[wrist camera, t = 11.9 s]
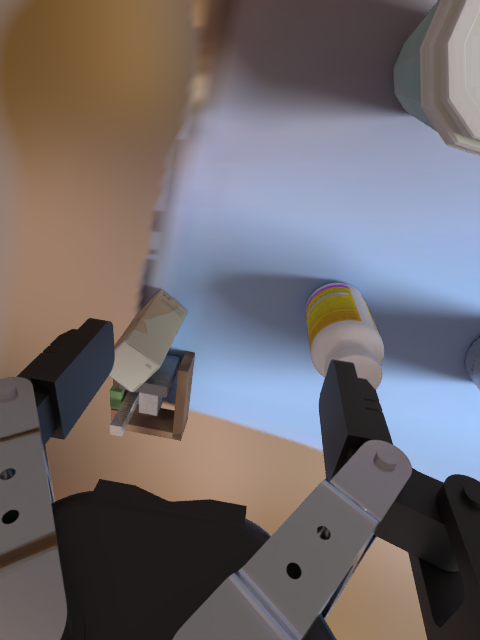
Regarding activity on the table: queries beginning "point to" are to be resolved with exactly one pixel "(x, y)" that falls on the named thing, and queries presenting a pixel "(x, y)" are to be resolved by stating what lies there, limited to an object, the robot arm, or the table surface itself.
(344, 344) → the supplement bottle
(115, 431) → the grey blocky piece
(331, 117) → the table surface
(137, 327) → the box
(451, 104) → the disposable coffee cup
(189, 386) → the brown wooden open box
